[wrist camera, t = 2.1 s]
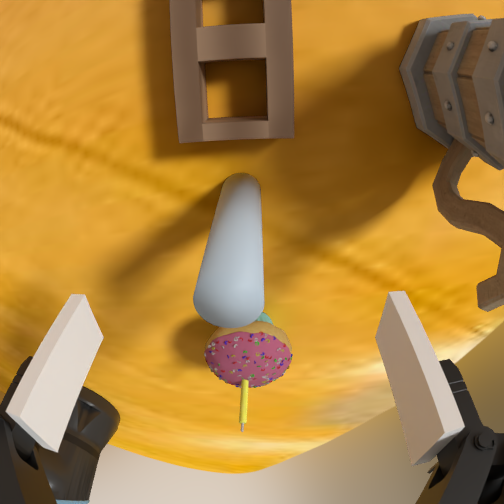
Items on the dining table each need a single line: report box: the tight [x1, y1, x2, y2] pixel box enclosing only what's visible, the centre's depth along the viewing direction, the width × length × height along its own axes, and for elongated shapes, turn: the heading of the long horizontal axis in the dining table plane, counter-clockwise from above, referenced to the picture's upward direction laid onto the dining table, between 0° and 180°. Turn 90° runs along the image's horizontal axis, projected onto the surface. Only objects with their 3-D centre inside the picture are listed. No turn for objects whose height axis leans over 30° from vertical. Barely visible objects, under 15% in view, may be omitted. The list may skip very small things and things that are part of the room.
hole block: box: [169, 0, 294, 143], centre depth 19 cm, size 8×14×3 cm, turn 2°
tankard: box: [399, 14, 504, 312], centre depth 16 cm, size 20×13×15 cm, turn 159°
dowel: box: [193, 173, 264, 328], centre depth 20 cm, size 3×3×14 cm
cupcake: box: [204, 312, 292, 432], centre depth 29 cm, size 9×8×12 cm
